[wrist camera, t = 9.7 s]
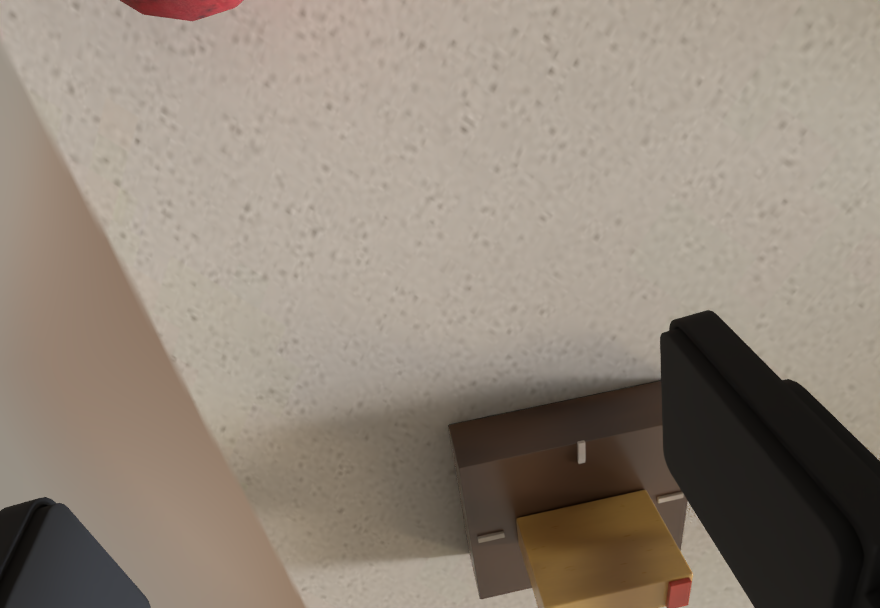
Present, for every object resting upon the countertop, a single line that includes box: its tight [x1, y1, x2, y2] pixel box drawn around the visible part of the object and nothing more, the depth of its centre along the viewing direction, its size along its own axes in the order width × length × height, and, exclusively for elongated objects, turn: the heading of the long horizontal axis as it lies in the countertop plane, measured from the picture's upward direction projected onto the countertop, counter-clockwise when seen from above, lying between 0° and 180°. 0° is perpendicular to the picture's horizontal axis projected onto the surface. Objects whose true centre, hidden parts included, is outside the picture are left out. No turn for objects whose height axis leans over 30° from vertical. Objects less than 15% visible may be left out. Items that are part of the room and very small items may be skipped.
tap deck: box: [448, 381, 688, 599], centre depth 34 cm, size 12×11×3 cm
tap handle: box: [516, 490, 693, 608], centre depth 30 cm, size 7×2×5 cm, turn 97°
